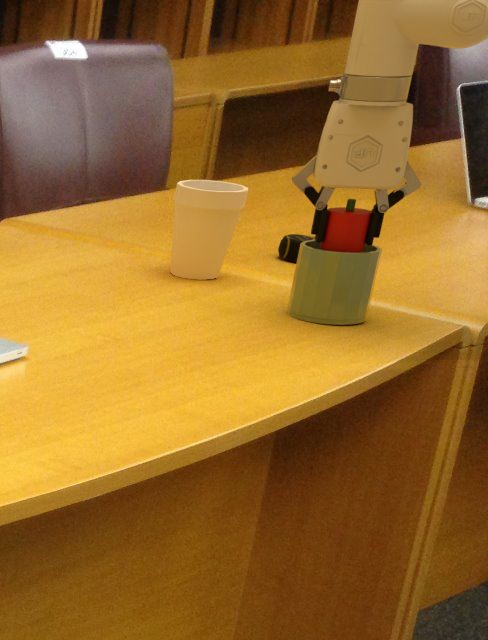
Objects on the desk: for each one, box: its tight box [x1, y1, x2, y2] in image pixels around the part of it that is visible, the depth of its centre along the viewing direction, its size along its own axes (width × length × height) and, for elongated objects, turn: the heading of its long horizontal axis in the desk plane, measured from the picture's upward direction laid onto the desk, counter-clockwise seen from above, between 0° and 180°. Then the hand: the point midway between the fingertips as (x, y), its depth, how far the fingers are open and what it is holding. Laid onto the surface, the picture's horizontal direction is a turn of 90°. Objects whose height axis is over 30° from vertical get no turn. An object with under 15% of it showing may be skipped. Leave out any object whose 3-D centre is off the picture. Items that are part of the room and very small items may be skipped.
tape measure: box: [277, 233, 315, 263], centre depth 229 cm, size 7×7×4 cm
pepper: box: [320, 198, 372, 253], centre depth 194 cm, size 5×5×6 cm
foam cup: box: [169, 179, 249, 280], centre depth 217 cm, size 10×9×13 cm
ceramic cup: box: [286, 240, 383, 326], centre depth 197 cm, size 9×9×9 cm
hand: (343, 240), depth 195 cm, fingers closed on pepper, 5 cm apart
